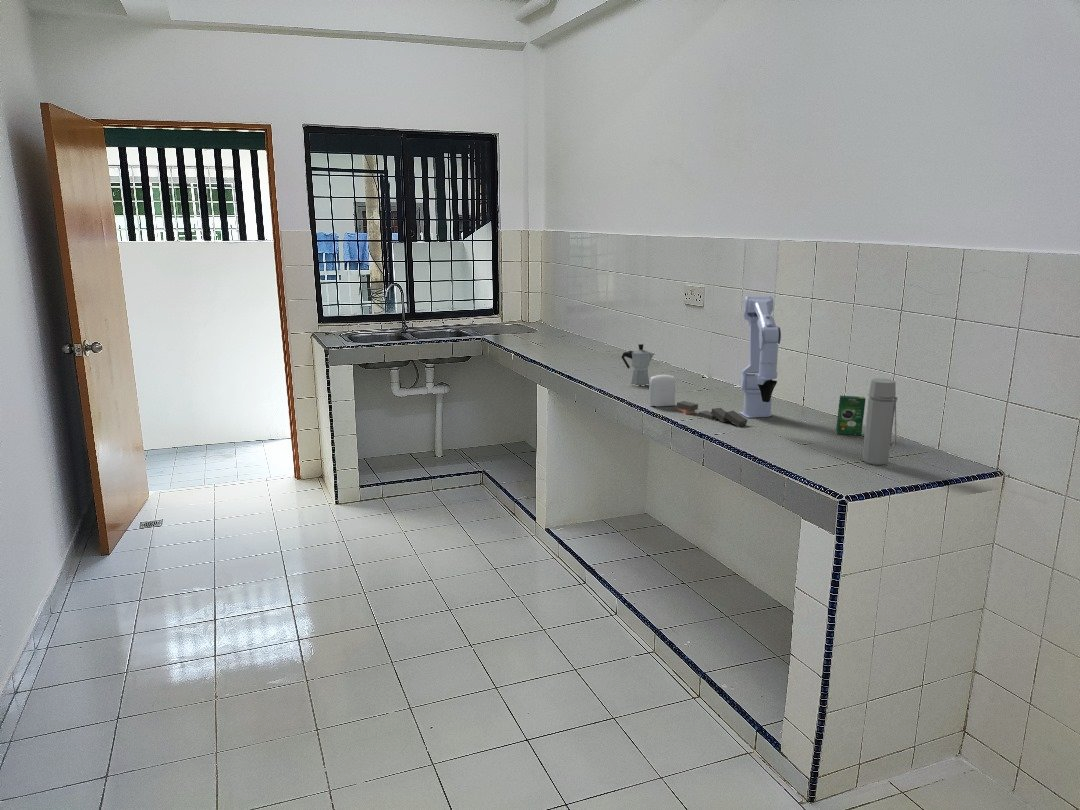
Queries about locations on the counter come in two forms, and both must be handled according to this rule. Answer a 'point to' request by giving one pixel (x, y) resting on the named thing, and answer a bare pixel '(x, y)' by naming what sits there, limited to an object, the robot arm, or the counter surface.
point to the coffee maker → (639, 365)
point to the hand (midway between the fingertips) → (765, 401)
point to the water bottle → (879, 421)
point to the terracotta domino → (686, 411)
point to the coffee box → (850, 415)
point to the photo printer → (662, 390)
